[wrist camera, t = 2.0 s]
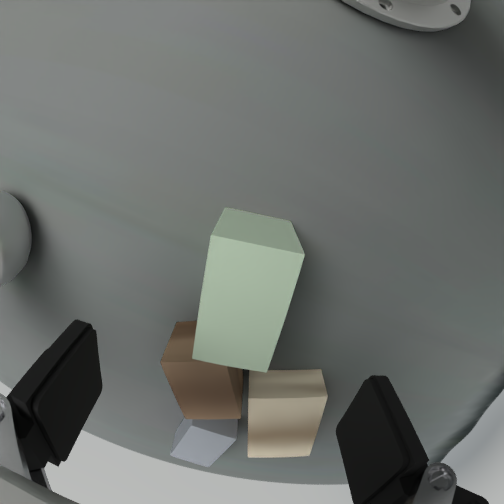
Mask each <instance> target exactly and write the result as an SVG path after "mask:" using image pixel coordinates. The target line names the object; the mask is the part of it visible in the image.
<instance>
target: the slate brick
mask: <svg viewBox="0 0 504 504" xmlns="http://www.w3.org/2000/svg"><path fill="white" fill-rule="evenodd" d="M237 428H238V419H185V418H184V419H183V421H182V422H181V424H180V426H179V427H178V429H177V430H176V433H175V437H174V441H173V445H172V449H171V454H170V456H173V457H176V458H179V459H182V460H186V461H189V462H192V463H195V464H199V465H202V466H206V467H209V466H210V465H211V464H212V463H213V462H214V461H215V460H216V459H217V458H219V457H220V456H221V455H222V454H223V453H224V452H225V451H226V450H227V449H228V448H229V447H230V446H231V445H232V444H233V443H234V442H235V441H236V440H237Z"/></svg>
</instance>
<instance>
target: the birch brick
mask: <svg viewBox="0 0 504 504" xmlns="http://www.w3.org/2000/svg"><path fill="white" fill-rule="evenodd" d="M327 398H328V395H327V391H326V387H325V383H324V379H323V375H322V371H321V369H312V370H267V373H266V372H259V371H253V370H249V394H248V457H251V458H274V457H299V456H309V455H310V452H311V449H312V446H313V443H314V440H315V437H316V434H317V431H318V428H319V425H320V421H321V418H322V415H323V411H324V408H325V405H326V401H327Z"/></svg>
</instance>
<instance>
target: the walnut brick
mask: <svg viewBox="0 0 504 504" xmlns="http://www.w3.org/2000/svg"><path fill="white" fill-rule="evenodd" d="M196 326H197V321H186V322H177V323H176V325H175V328H174V330H173V332H172V335H171V337H170V340H169V342H168V344H167V347H166V349H165V352H164V354H163V357H162V359H161V362H160V363H161V365H162V368H163V370H164V372H165V375H166V377H167V380H168V382H169V384H170V386H171V389H172V391H173V393H174V395H175V398H176V400H177V402H178V404H179V406H180V408H181V410H182V412H183V415H184V417H185V419H241V410H242V393H243V371H242V369H241V368H235V367H230V366H225V365H219V364H214V363H209V362H205V361H200V360H195V359H192V355H193V348H194V340H195V333H196Z"/></svg>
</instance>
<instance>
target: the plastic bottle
mask: <svg viewBox="0 0 504 504" xmlns="http://www.w3.org/2000/svg"><path fill="white" fill-rule="evenodd" d="M31 243H32V233H31V226H30V222H29V219H28V216H27V213H26V211H25V209H24V208H23V206H22V205H21V203H20V202H19V201H18V200H17V199H16V198H15V197H14V196H12V195H11V194H9V193H7V192H6V191H3V190H0V287H1V286H3V285H5V284H7V283H8V282H10V281H12V280H13V279H14V277H15V276H16V275H17V274H18V273H19V272H20V271H21V270H22V269H23V268H24V266H25V265H26V263H27V260H28V257H29V253H30V249H31Z"/></svg>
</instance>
